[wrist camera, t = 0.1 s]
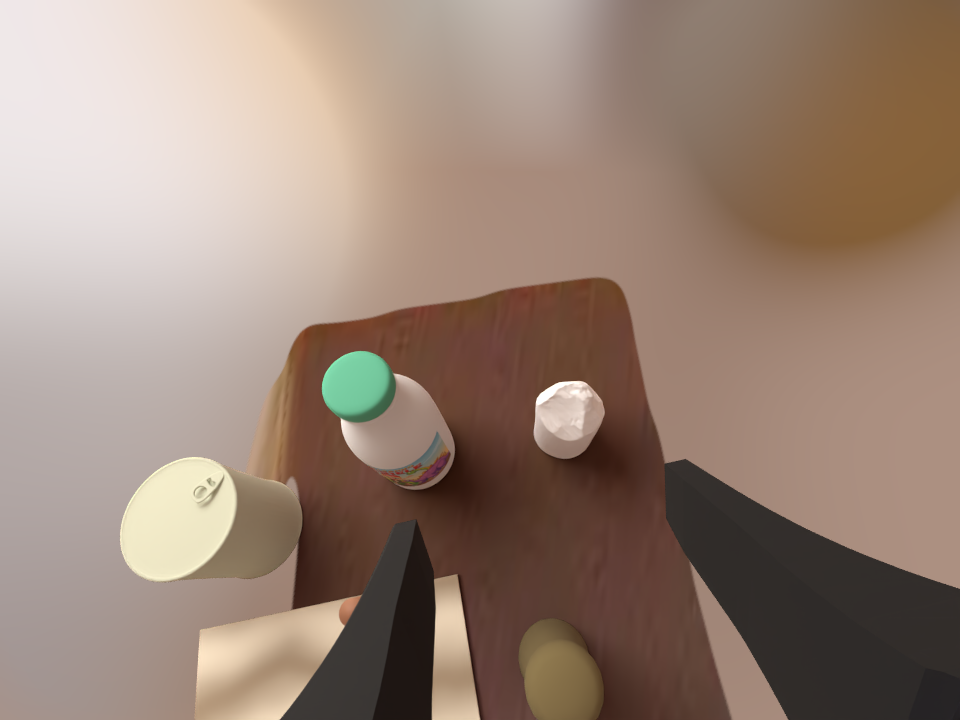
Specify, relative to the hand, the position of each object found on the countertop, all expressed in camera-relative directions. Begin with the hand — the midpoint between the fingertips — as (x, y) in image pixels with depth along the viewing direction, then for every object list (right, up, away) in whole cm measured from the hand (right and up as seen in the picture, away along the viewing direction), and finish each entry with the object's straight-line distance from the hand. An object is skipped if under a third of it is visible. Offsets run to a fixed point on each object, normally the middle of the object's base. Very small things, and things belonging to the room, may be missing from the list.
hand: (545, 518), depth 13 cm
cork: (+4, -21, +26) cm, 33 cm away
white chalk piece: (+7, -3, +34) cm, 35 cm away
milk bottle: (-8, -5, +34) cm, 35 cm away
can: (-24, -12, +32) cm, 42 cm away
